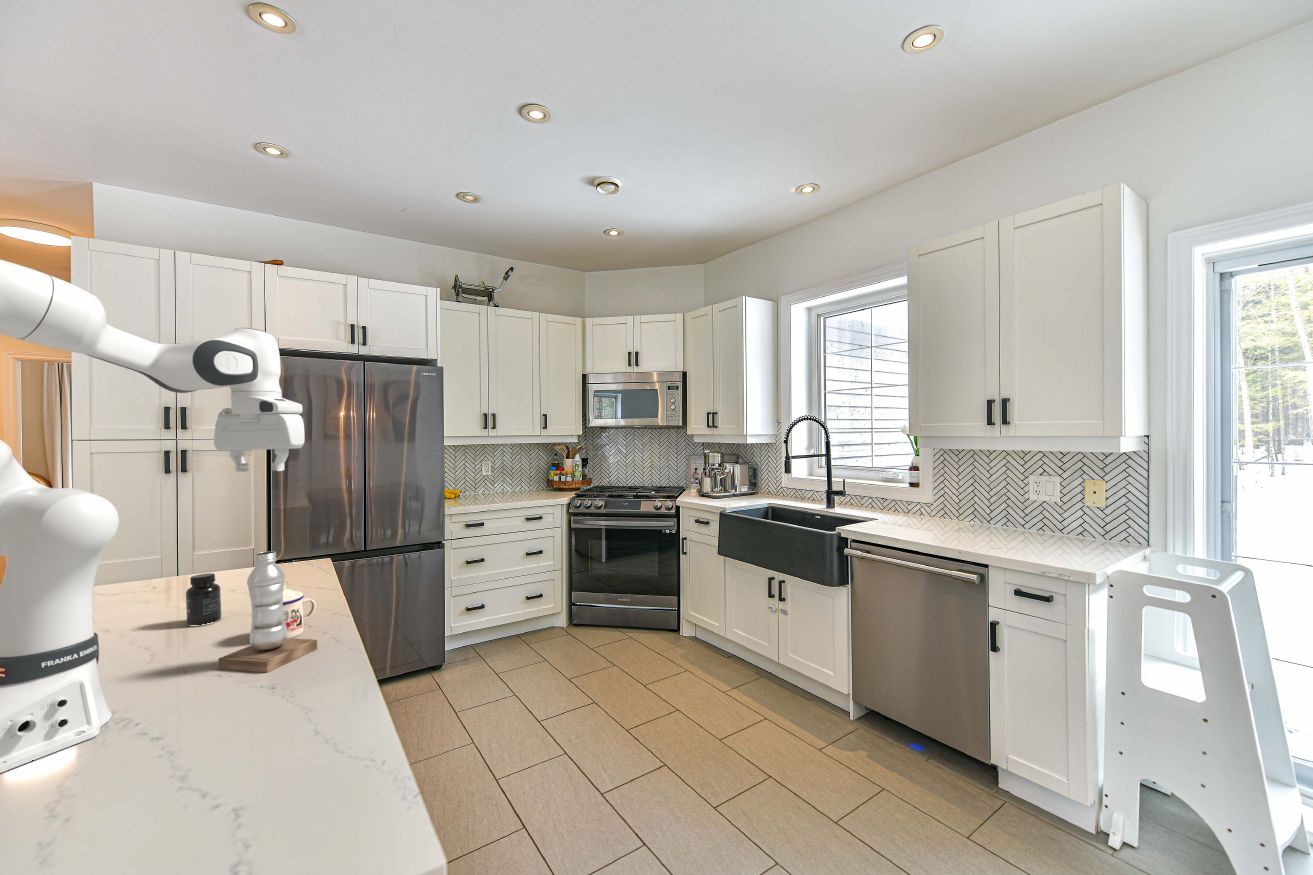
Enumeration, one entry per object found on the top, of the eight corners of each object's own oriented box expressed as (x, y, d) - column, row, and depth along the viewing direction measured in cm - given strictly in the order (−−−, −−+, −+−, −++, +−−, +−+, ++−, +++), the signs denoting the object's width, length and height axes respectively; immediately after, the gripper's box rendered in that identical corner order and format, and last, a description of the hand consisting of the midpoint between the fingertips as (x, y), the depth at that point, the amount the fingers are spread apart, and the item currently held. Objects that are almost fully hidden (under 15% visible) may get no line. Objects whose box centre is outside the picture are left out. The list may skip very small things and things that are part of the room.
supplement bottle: (182, 624, 142) (180, 576, 142) (215, 616, 148) (213, 570, 148) (192, 628, 138) (190, 580, 138) (226, 620, 144) (224, 573, 144)
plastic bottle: (295, 642, 120) (292, 549, 120) (269, 655, 114) (266, 556, 113) (268, 641, 121) (265, 549, 121) (241, 654, 114) (237, 556, 114)
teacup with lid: (267, 645, 125) (265, 593, 125) (251, 637, 130) (250, 587, 130) (324, 629, 135) (323, 581, 134) (308, 622, 140) (306, 576, 140)
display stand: (267, 672, 110) (267, 661, 110) (218, 668, 113) (218, 657, 113) (317, 648, 122) (316, 639, 122) (272, 645, 125) (271, 636, 125)
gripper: (203, 408, 119) (206, 473, 119) (283, 403, 114) (286, 471, 114) (232, 408, 125) (234, 470, 125) (309, 405, 120) (311, 469, 121)
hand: (260, 471), depth 120 cm, fingers open, 8 cm apart
